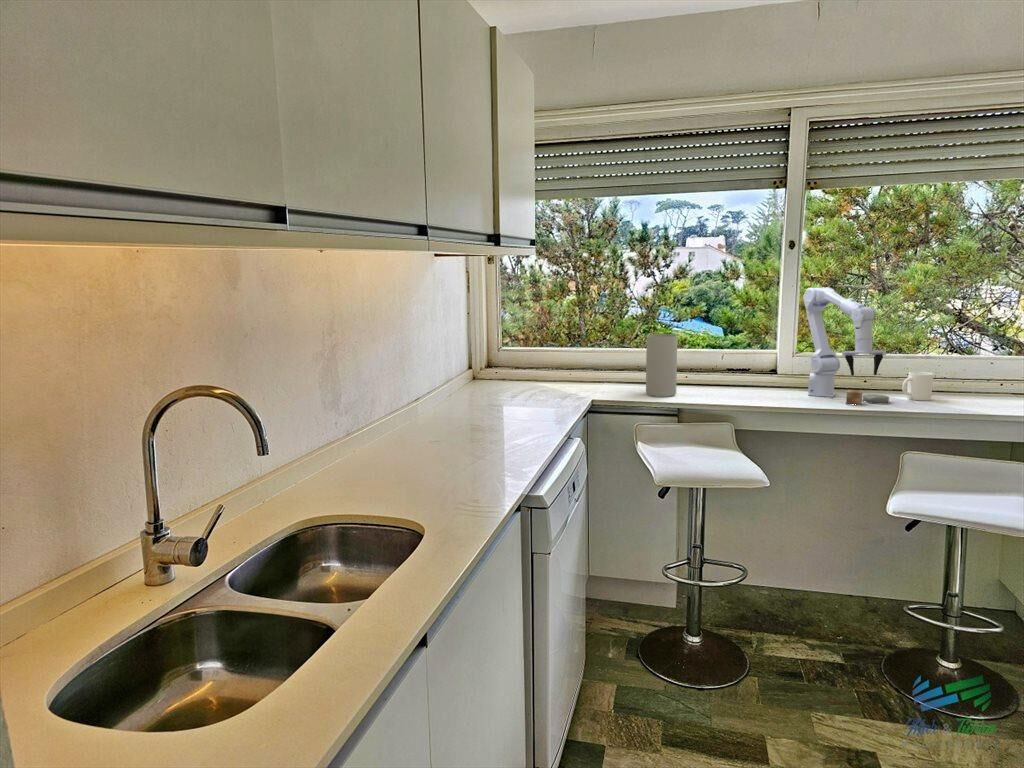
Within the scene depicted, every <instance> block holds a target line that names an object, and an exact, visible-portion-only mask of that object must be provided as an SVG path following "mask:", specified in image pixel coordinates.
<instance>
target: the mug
mask: <svg viewBox="0 0 1024 768" xmlns="http://www.w3.org/2000/svg"><path fill="white" fill-rule="evenodd" d="M933 382H934V373H932V372H928V371H909V372H908V375H907V378H905V379H904V380H903V382H902V386H901V390H902V393H903V394H904V395H905V396H906V398H907V399H908V398H909V399H908V400H910V399H913V400H912V401H916V400H928V401H930V400H932V391H933V384H934V383H933Z"/></svg>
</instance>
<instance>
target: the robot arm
mask: <svg viewBox="0 0 1024 768" xmlns="http://www.w3.org/2000/svg"><path fill="white" fill-rule="evenodd" d="M802 297H803V302H804V307H805V310H806V311H805V313H806V318H807V321H808V325H809V329H810V334H811V339H812V341H813V346H814V350H815V352H814V353H812V355H811V357H810V359H811V364H810V366H811V370H812V372H809V373H810V374H809V378H808V393H807V396H813V397H814V396H815V397H828V398H829V397H830V398H834V397H835V396H836V392H835V380H836V379H835V378H836V377H835V375H836V374H837V373H838V371H839V370H840V368H841V361H840V359H839V358H838V356H837V353H836V352H835V351H834V350H832V349H831V347H830V343H829V340H828V335H827V331H826V328H825V323H824V319H823V314H822V312H823V310H824V309H826V307H827V306H828V305H830V303H832V304H833V305H835V306H837V307H839V310H840V311H841V312H842V313H844V314H845V315H847V316H849V317H850V318H851V321H852V322H853V323H852V324H853V327H854V345H855V346H854V349H855V350H849V351H848V350H846V351H841V356H842V357H844V359H845V360H846V362H847V364H848V367H849V370H850V374H851V375H850V376H854V375H855V371H854V370H855V369H854V368H855V367H854V360H855V359H854V357H870V356H872V357H873V375H874V376H877V375H878V370H879V367H880V364H881V362H882V360H883V357H884V356H887V350H885V349H881V350H880V349H876V350H874V349H873V322H874V320H875V319H876V317H877V316H876V315H877V312H876V310H875V308H874V307H873V306H865V305H864V304H863V303H859V302H857V301H856V299H855V298H853V297H851V298H845V297H843V296H842V295H840V294H838V293H837V292H836V291H835V289H834V288H831V287H829V286H826V287H808V288H807V289H806V290H805V292H804V294H803V296H802Z"/></svg>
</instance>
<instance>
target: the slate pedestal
mask: <svg viewBox="0 0 1024 768" xmlns="http://www.w3.org/2000/svg"><path fill="white" fill-rule="evenodd" d="M863 401H866V402H872V403H871V404H873V403H887V404H889V403H890V397H889V396H888V395H884V394H875V393H874V394H871V393H869V394H862V402H863ZM866 402H865V403H866ZM888 402H889V403H888Z"/></svg>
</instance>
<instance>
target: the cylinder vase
mask: <svg viewBox="0 0 1024 768" xmlns="http://www.w3.org/2000/svg"><path fill="white" fill-rule="evenodd" d="M645 347H646V352H645V353H646V355H645V356H646V357H645V358H646V360H645V362H646V363H645V376H646V377H645V393H646V395H647V396H649V397H656V398H670V397H675V395H677V378H678V377H677V376H678V375H677V374H678V373H677V372H678V371H677V370H678V334H670V333H653V334H647V335H646V346H645Z"/></svg>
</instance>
